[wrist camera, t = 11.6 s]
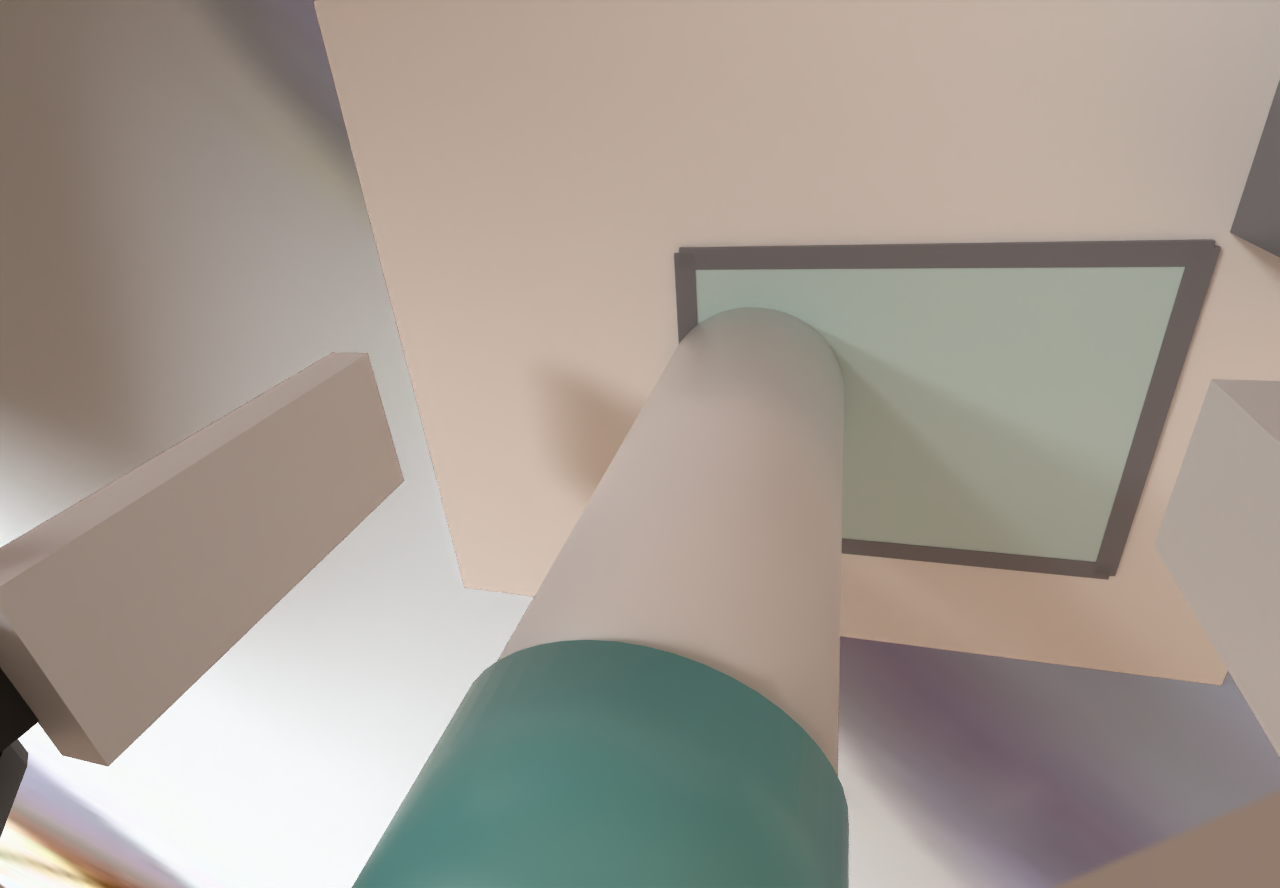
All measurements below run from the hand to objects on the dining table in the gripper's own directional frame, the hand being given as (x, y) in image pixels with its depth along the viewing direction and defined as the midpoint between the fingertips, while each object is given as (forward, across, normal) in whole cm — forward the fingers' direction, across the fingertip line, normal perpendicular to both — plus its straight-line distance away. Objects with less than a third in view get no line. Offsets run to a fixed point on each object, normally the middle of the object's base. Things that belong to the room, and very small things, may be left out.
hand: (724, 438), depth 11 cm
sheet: (+4, +1, 0) cm, 4 cm away
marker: (+3, 0, 0) cm, 3 cm away
